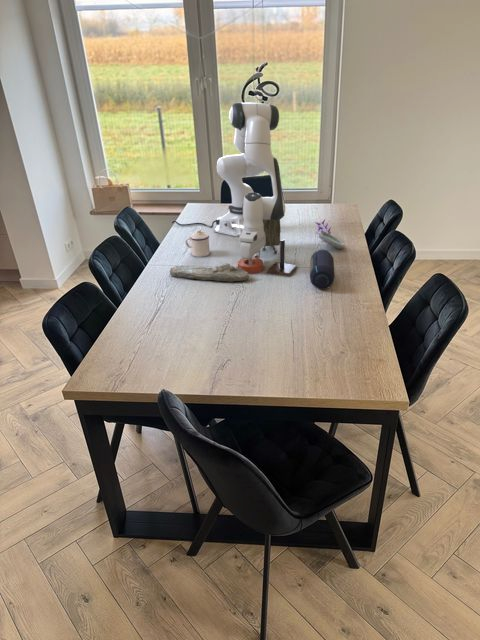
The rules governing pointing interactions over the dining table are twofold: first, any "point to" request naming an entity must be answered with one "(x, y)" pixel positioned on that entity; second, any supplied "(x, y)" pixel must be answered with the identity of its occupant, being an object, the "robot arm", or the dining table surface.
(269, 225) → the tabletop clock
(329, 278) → the portable speaker
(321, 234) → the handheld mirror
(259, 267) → the ring
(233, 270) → the long grey stone
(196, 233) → the teacup with lid
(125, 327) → the dining table surface
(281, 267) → the stand
